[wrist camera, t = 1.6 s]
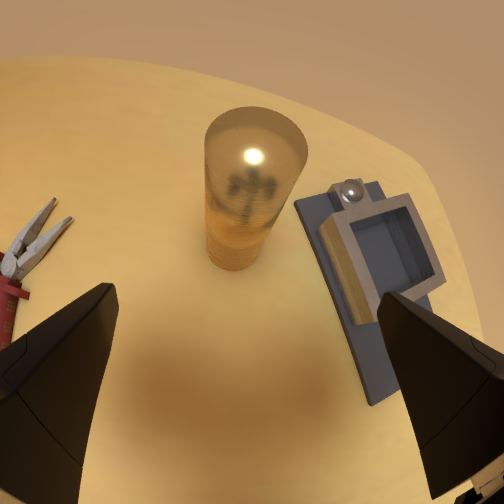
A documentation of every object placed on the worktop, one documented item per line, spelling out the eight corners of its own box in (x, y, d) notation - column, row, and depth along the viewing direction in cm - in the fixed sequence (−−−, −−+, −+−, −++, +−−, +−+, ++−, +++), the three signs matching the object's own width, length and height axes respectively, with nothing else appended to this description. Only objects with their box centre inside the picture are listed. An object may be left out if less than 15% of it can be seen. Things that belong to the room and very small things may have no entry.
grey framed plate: (440, 349, 22) (466, 347, 18) (374, 392, 20) (398, 398, 16) (373, 181, 26) (391, 162, 22) (300, 199, 24) (314, 177, 20)
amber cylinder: (266, 262, 22) (324, 174, 11) (215, 277, 22) (222, 198, 10) (248, 215, 23) (284, 101, 12) (200, 229, 23) (193, 116, 11)
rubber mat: (441, 356, 22) (445, 356, 21) (368, 405, 20) (372, 406, 19) (374, 183, 26) (377, 180, 26) (293, 203, 24) (295, 200, 24)
